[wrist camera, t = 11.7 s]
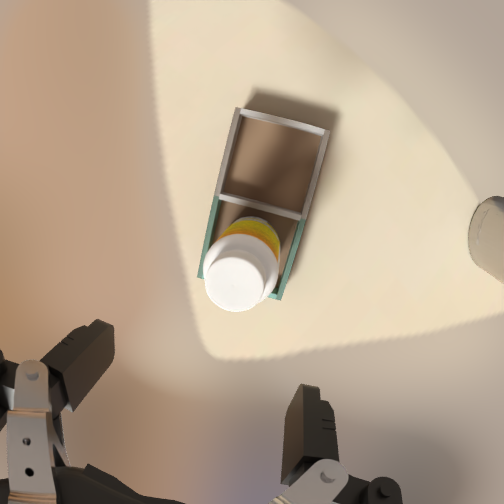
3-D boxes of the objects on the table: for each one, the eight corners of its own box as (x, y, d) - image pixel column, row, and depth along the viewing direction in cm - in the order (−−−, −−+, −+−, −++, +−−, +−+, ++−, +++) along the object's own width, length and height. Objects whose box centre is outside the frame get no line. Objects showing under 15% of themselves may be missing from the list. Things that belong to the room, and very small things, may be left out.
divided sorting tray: (326, 134, 26) (330, 131, 23) (281, 288, 31) (280, 300, 28) (240, 112, 26) (235, 107, 23) (204, 267, 31) (197, 277, 29)
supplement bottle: (224, 213, 28) (191, 241, 18) (282, 216, 28) (279, 246, 18) (224, 268, 30) (194, 318, 20) (279, 272, 29) (274, 325, 19)
